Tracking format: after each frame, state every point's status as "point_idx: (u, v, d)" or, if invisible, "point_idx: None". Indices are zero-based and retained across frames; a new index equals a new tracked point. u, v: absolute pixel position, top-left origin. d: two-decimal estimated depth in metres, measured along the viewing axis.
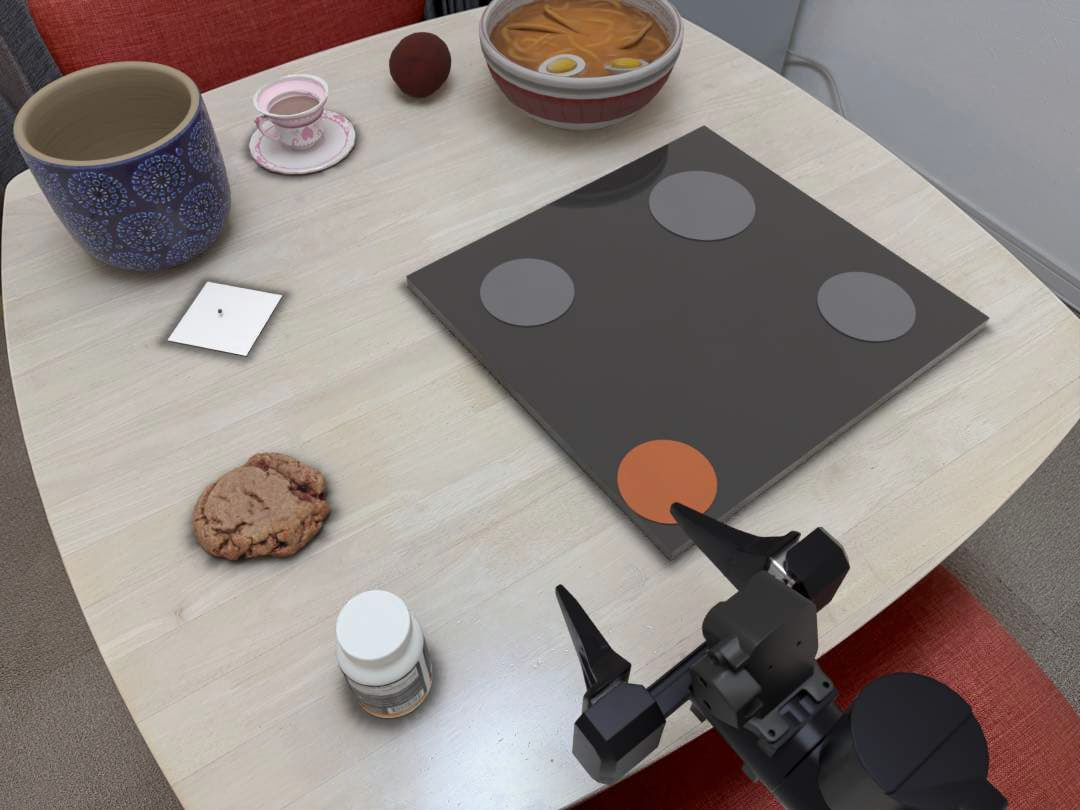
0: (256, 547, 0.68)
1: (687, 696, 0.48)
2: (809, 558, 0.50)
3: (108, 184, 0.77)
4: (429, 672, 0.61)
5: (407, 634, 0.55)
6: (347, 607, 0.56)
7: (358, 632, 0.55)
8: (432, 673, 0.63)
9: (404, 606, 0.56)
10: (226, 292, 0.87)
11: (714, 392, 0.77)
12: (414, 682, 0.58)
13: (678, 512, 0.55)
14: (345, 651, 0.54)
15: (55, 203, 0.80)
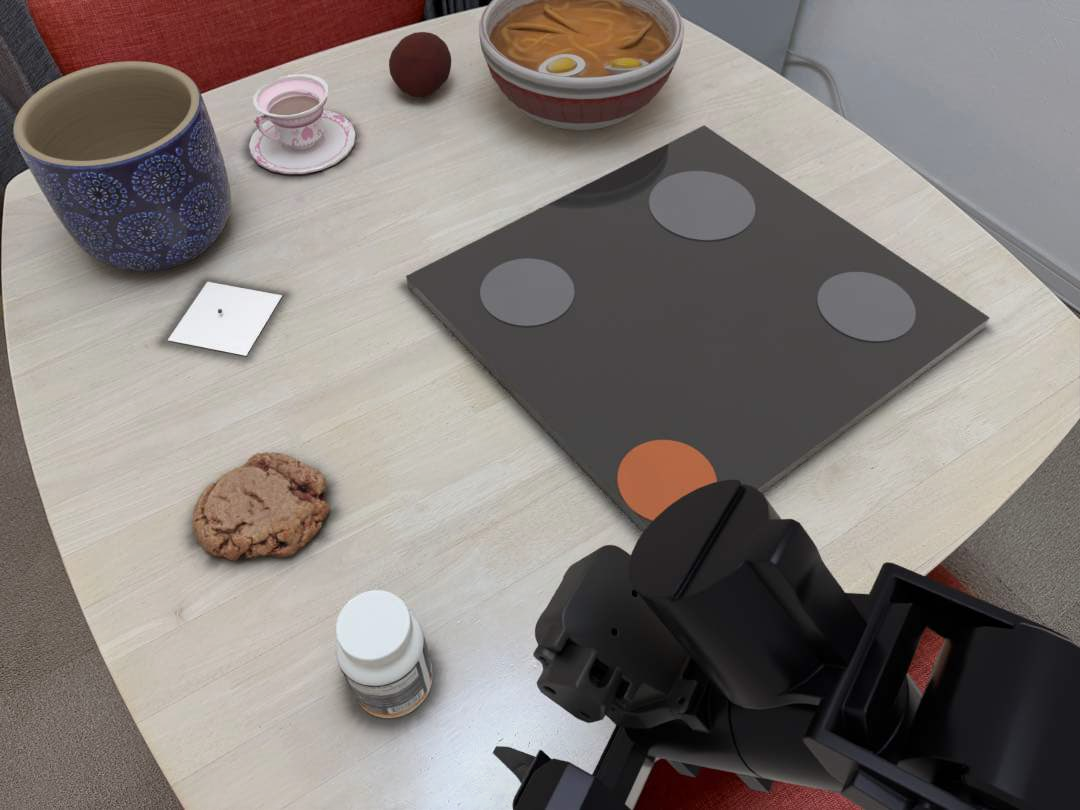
0: (256, 547, 0.68)
1: (633, 748, 0.40)
2: None
3: (108, 184, 0.77)
4: (429, 672, 0.61)
5: (407, 634, 0.55)
6: (347, 607, 0.56)
7: (358, 632, 0.55)
8: (432, 673, 0.63)
9: (404, 606, 0.56)
10: (226, 292, 0.87)
11: (714, 392, 0.77)
12: (414, 682, 0.58)
13: None
14: (345, 651, 0.54)
15: (55, 203, 0.80)
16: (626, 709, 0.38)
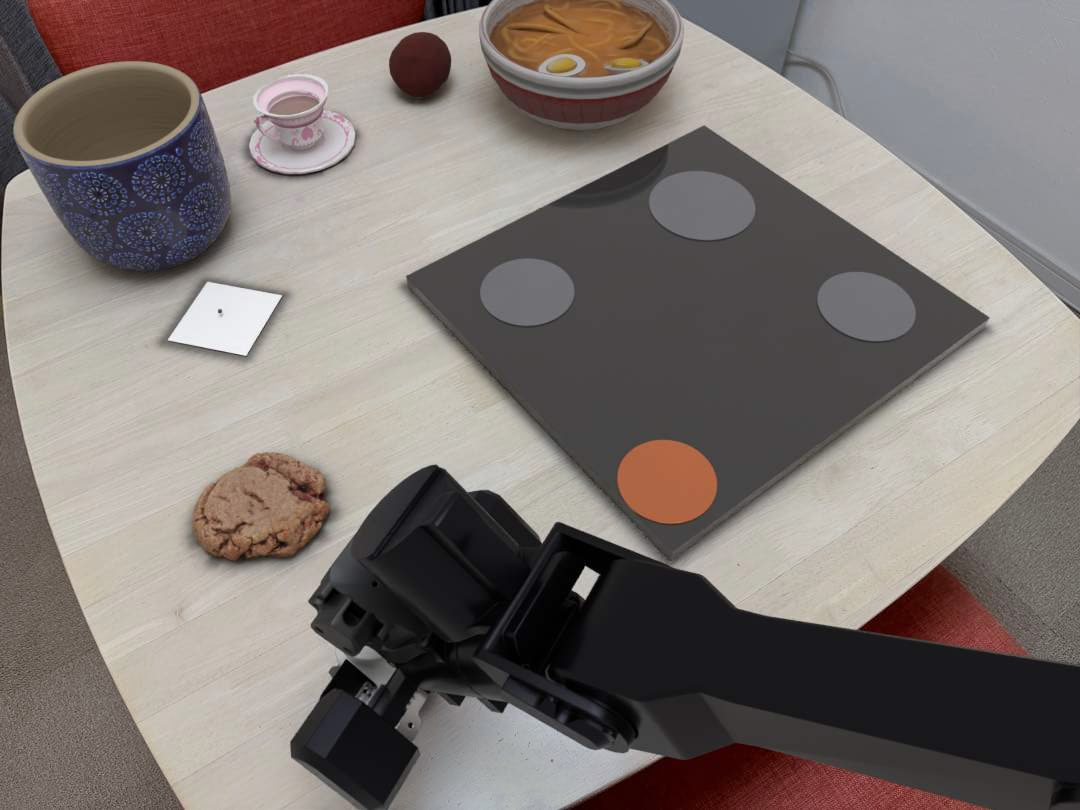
0: (256, 547, 0.68)
1: (404, 682, 0.49)
2: None
3: (108, 184, 0.77)
4: None
5: None
6: None
7: None
8: None
9: None
10: (226, 292, 0.87)
11: (714, 392, 0.77)
12: None
13: None
14: None
15: (55, 203, 0.80)
16: (388, 647, 0.47)
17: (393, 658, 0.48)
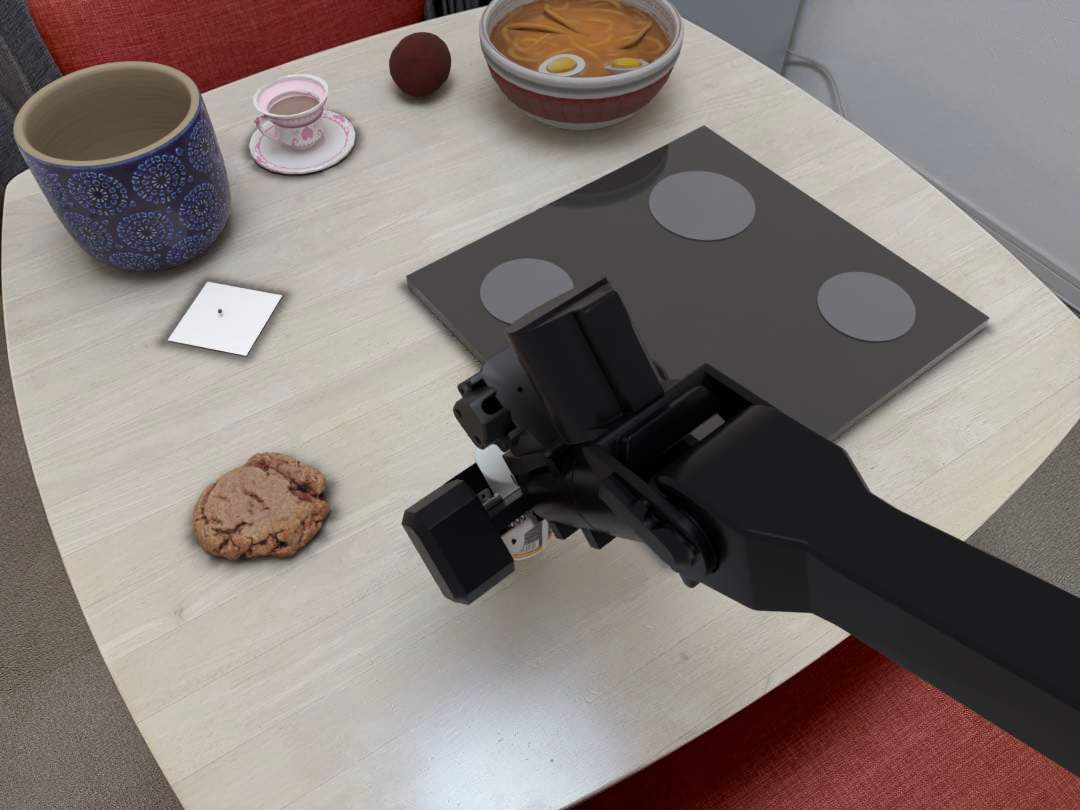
0: (256, 547, 0.68)
1: (521, 498, 0.51)
2: None
3: (108, 184, 0.77)
4: (549, 528, 0.62)
5: None
6: None
7: (495, 455, 0.57)
8: None
9: None
10: (226, 292, 0.87)
11: None
12: None
13: None
14: None
15: (55, 203, 0.80)
16: (515, 454, 0.49)
17: (516, 468, 0.49)
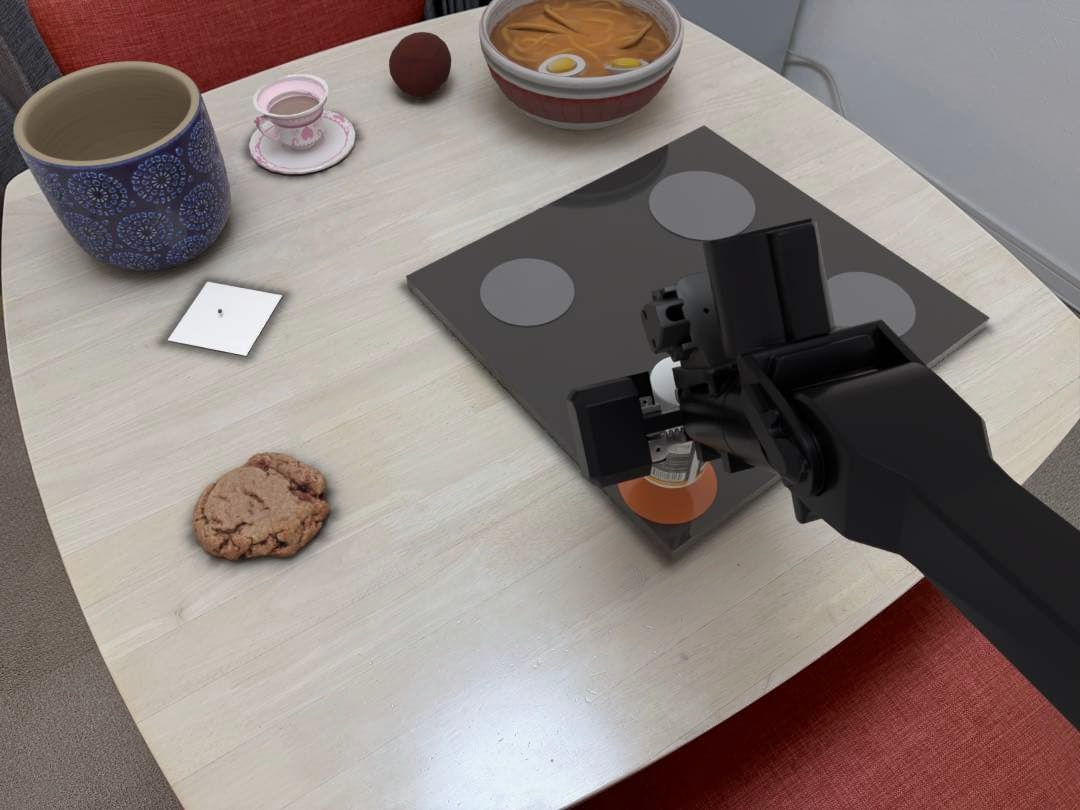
0: (256, 547, 0.68)
1: (676, 412, 0.55)
2: None
3: (108, 184, 0.77)
4: (699, 466, 0.65)
5: None
6: None
7: (669, 378, 0.61)
8: None
9: None
10: (226, 292, 0.87)
11: None
12: (683, 457, 0.64)
13: None
14: None
15: (55, 203, 0.80)
16: (683, 368, 0.53)
17: (681, 381, 0.53)
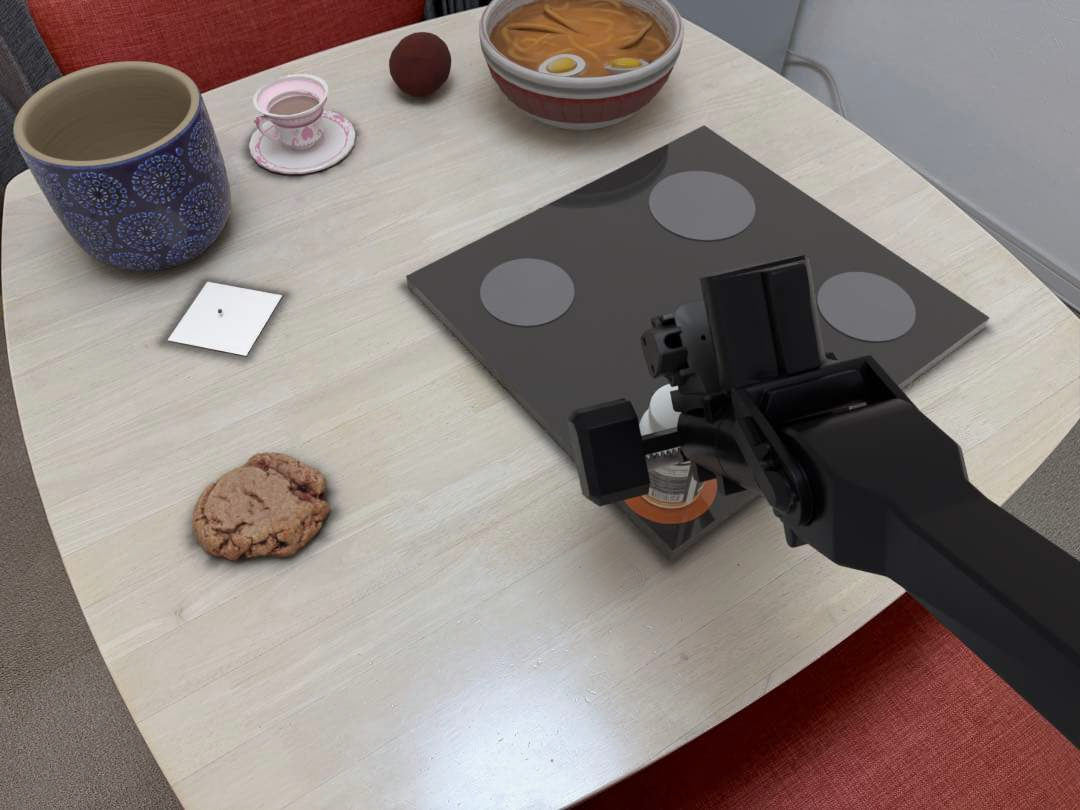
0: (256, 547, 0.68)
1: (674, 434, 0.57)
2: None
3: (108, 184, 0.77)
4: (696, 488, 0.68)
5: None
6: None
7: (668, 405, 0.64)
8: (698, 495, 0.70)
9: None
10: (226, 292, 0.87)
11: None
12: (681, 480, 0.66)
13: None
14: (650, 410, 0.63)
15: (55, 203, 0.80)
16: (680, 392, 0.55)
17: (678, 405, 0.55)
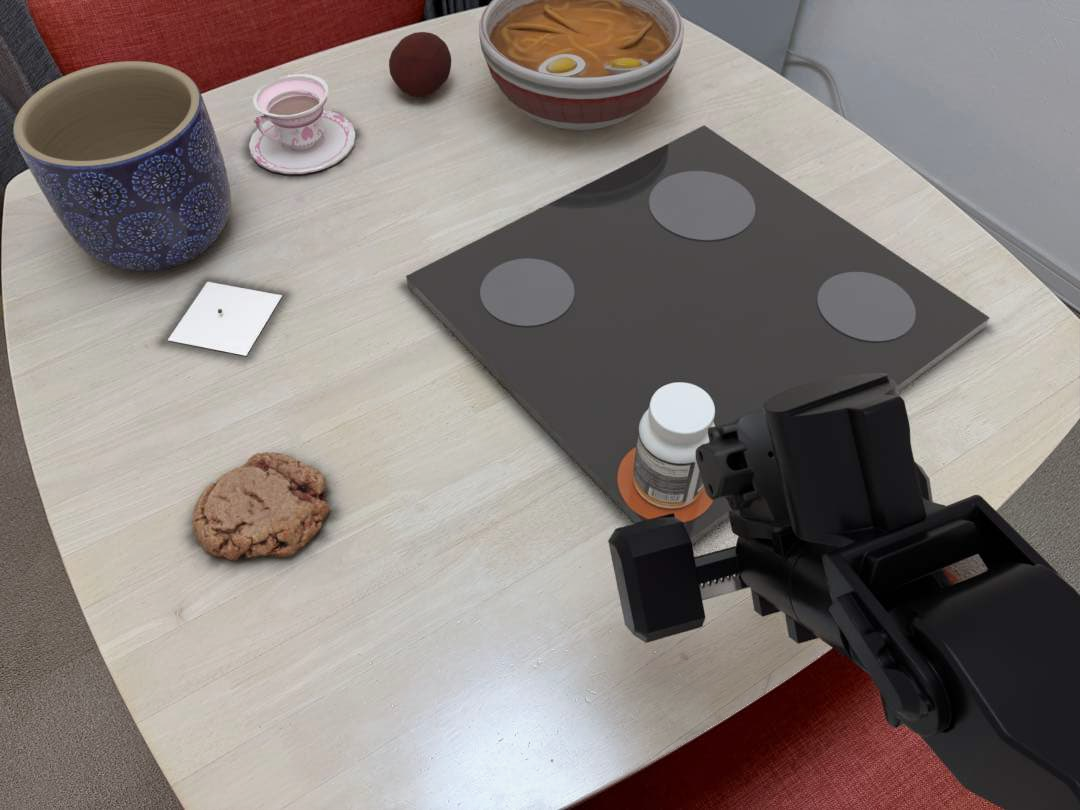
0: (256, 547, 0.68)
1: (732, 559, 0.49)
2: None
3: (108, 184, 0.77)
4: (696, 488, 0.68)
5: (700, 430, 0.62)
6: (673, 385, 0.65)
7: (668, 405, 0.64)
8: (698, 495, 0.70)
9: (713, 412, 0.63)
10: (226, 292, 0.87)
11: (714, 392, 0.77)
12: (681, 480, 0.66)
13: None
14: (650, 410, 0.63)
15: (55, 203, 0.80)
16: (743, 515, 0.47)
17: (739, 529, 0.47)
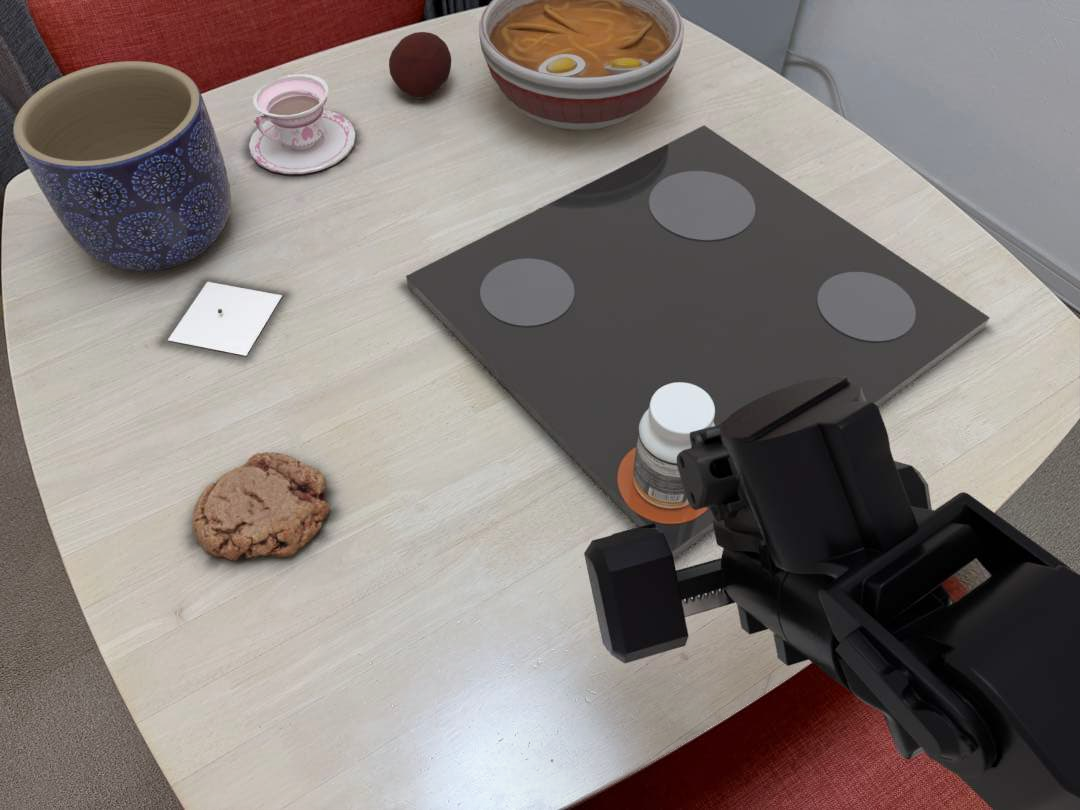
0: (256, 547, 0.68)
1: (717, 572, 0.45)
2: None
3: (108, 184, 0.77)
4: None
5: None
6: (673, 385, 0.65)
7: (668, 405, 0.64)
8: None
9: (713, 412, 0.63)
10: (226, 292, 0.87)
11: (714, 392, 0.77)
12: (681, 480, 0.66)
13: None
14: (650, 410, 0.63)
15: (55, 203, 0.80)
16: (728, 526, 0.43)
17: (724, 540, 0.44)
